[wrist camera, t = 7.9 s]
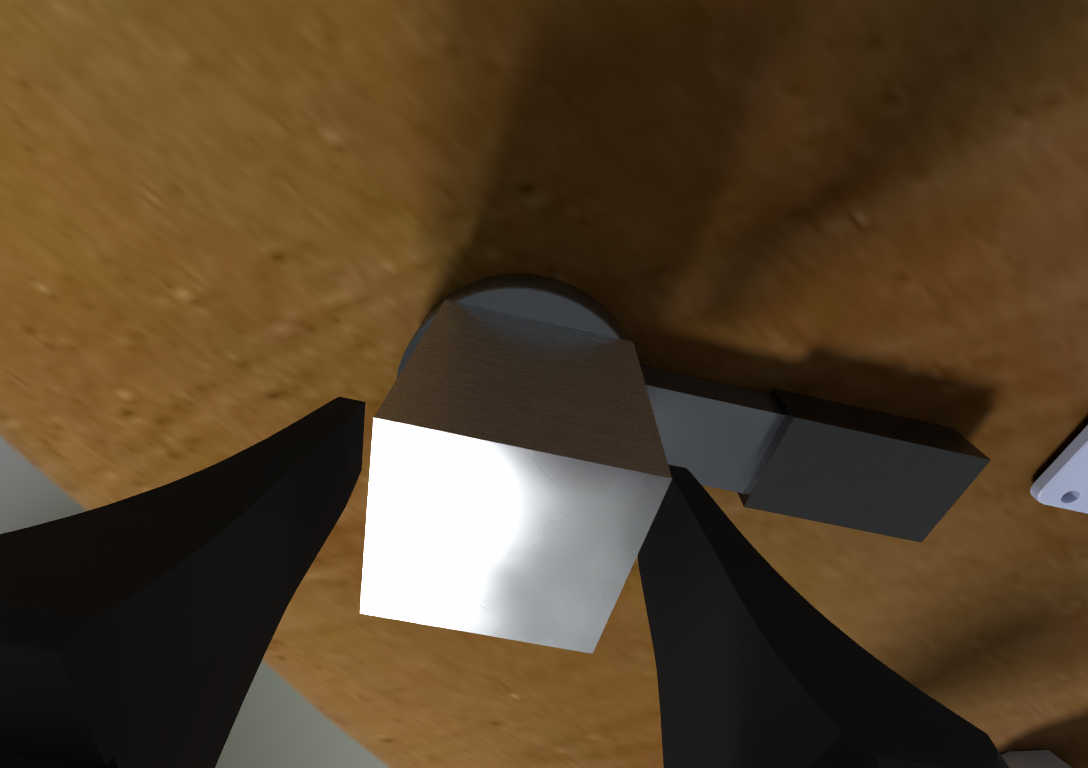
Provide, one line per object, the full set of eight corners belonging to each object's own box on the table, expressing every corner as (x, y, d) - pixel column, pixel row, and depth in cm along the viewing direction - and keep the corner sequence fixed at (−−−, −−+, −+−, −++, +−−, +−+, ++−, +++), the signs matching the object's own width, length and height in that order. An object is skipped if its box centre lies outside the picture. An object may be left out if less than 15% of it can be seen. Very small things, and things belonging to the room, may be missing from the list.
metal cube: (633, 341, 13) (672, 478, 8) (584, 484, 16) (592, 653, 11) (445, 299, 13) (373, 417, 8) (424, 452, 15) (359, 613, 10)
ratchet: (1002, 382, 15) (1153, 479, 11) (875, 545, 18) (957, 662, 14) (421, 248, 14) (364, 305, 10) (400, 450, 17) (352, 551, 13)
